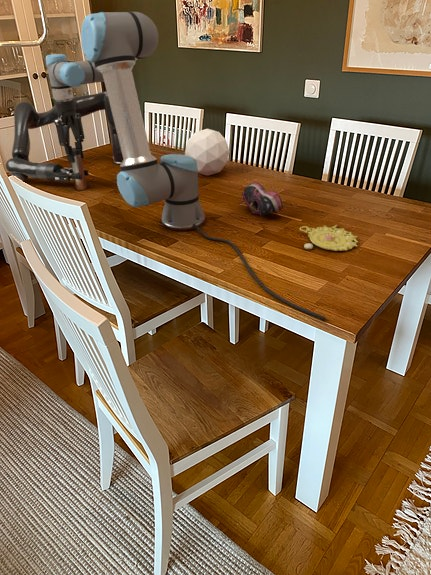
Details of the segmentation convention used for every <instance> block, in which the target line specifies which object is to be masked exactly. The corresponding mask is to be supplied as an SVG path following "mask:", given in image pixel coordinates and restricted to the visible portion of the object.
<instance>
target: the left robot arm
mask: <svg viewBox="0 0 431 575" xmlns="http://www.w3.org/2000/svg"><path fill="white" fill-rule="evenodd" d="M73 100H75V105H76V110H75V112H76V113H77V114H81V118H84V117H86V116H89V115H91V114H93V113H96V112H99V111H105V117H106V121H107V125H108V130H109V137H110V144H111V150H112V159H113V163H114V164H115V165H121V163H122V161H123V155H122V151H121V147H120V143H119V139H118V135H117V131H116V127H115V123H114V119H113V115H112V111H111V107H110V103H109V99H108V95H107V91H106V90H105V91H102V92H98V93H94V94H83V95H77V96H74V98H73ZM13 109H14V110H13V111H14V112H13V120H14V136H13V142H12V143H13V144H12V149H11V158H9V159H7V160H6V162H5V169H6V170H7V172H8V173H9V174H10V175H11V176H12V177H14V176H16V177H18V178H19V179H21V180H22V181H21V182H24V181H26V180H27V179H28V178H29V179H32V180H41V181H44V182H45V181H46V182H57V183H60V182H70V181H73V180H74V179H77V180H81V179H82V175H81V174H74V173H73V171H72V166H70V167H63V166H62V164H60V163H54V162H33V161H30V158H29V156H30V151H31V139H30V131H29V130H34V129H38V128H41V127H45V126H49V125H51V124H55V123H54V120H57V119H58V118H59V117H58V116H59V113H58V112H57V111H56V107H55V104H54V105H53V107H52V108H50V109H49V110H47V111H44V112H38V111H37V110H36V109H35V107H34V105H33V104H32V102H29V101H26V100H25V101H20V102H18V103H17V104H16V105H15V107H14V108H13ZM89 173H90V172H89V170H87V169H84V174H85V177H87V176H89V175H90V174H89Z"/></svg>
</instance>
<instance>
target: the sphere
mask: <svg viewBox="0 0 431 575" xmlns="http://www.w3.org/2000/svg"><path fill="white" fill-rule="evenodd" d="M230 153H231V151H230V148H229V145H228V142H227V139H226V138H225V137H224V136H223V135H222V133H221V132H220V131H217V130H214V129H210V128H205V129H202V130H201V129H200V130H199V131H195V132H194V133H193V134H192V135H191V136H190V137H189V139H188V140H187V143H186V146H185V151H184V155H186V156H190V157H192V158H194V159H195V160H196V163H197V170H198V172H197V173H198V174H199V175H204V176H207V177H209V176H212V175H215V174H218V173H220V172H221V171H222V170H223V169H224V167H225V166H226V165H227V162H228V159H229V156H230Z"/></svg>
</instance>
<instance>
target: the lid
mask: <svg viewBox="0 0 431 575" xmlns="http://www.w3.org/2000/svg"><path fill="white" fill-rule="evenodd" d="M72 151H73V156H74V155H80V154H81V149H80V148H75V147H72Z"/></svg>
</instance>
